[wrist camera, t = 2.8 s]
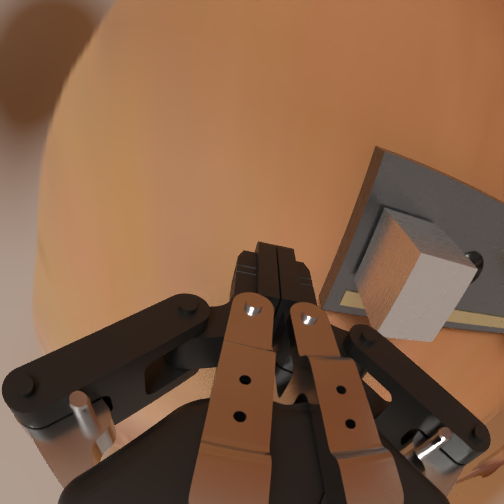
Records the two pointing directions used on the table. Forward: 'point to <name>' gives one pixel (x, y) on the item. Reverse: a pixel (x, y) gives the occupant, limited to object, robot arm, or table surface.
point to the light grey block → (411, 277)
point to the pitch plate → (435, 211)
